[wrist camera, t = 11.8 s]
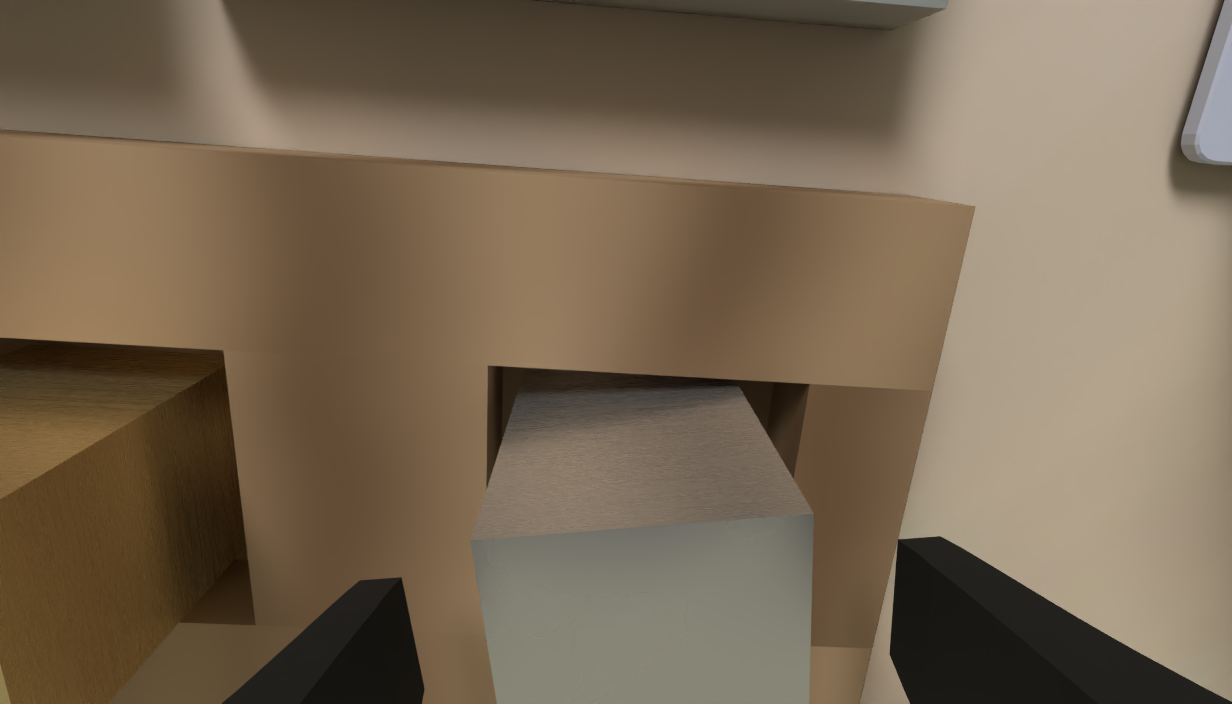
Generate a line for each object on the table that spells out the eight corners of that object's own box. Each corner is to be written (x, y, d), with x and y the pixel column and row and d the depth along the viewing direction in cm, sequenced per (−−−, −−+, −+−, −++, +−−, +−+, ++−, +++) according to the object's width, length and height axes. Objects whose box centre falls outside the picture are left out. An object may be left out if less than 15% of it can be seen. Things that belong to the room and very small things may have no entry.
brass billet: (241, 355, 13) (-55, 532, 7) (260, 529, 14) (20, 804, 8) (33, 343, 13) (-451, 515, 7) (70, 520, 14) (-314, 796, 8)
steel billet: (720, 354, 13) (819, 523, 7) (724, 524, 14) (811, 786, 9) (524, 369, 13) (467, 551, 7) (545, 538, 14) (509, 810, 9)
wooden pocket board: (905, 194, 13) (975, 206, 10) (808, 677, 16) (844, 767, 14) (-158, 118, 12) (-347, 111, 10) (-13, 649, 16) (-124, 740, 13)
